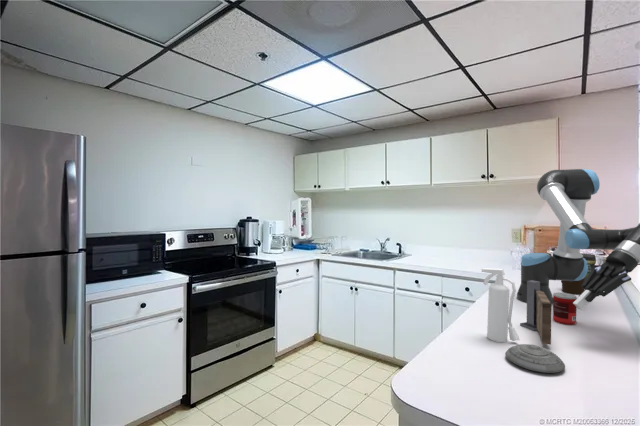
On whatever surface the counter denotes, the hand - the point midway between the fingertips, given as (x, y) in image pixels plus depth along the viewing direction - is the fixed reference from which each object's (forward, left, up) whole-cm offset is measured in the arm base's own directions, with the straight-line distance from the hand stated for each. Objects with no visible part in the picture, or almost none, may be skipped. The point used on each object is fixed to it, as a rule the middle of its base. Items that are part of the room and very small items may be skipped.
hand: (577, 306), depth 110 cm
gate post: (-15, +6, -13) cm, 21 cm away
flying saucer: (-4, -26, -14) cm, 30 cm away
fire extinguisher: (-18, -16, -13) cm, 28 cm away
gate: (-9, -3, -12) cm, 15 cm away
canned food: (-10, +23, -13) cm, 28 cm away
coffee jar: (-23, +107, -13) cm, 110 cm away
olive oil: (-22, +80, -13) cm, 84 cm away
